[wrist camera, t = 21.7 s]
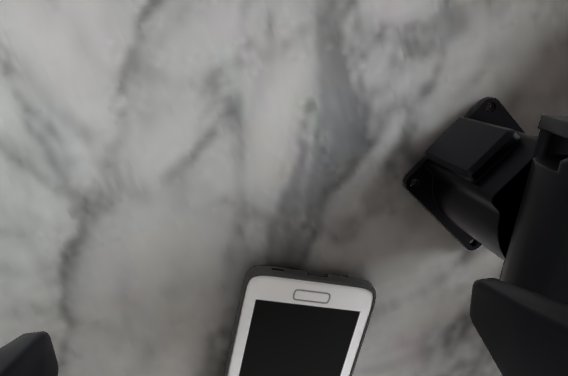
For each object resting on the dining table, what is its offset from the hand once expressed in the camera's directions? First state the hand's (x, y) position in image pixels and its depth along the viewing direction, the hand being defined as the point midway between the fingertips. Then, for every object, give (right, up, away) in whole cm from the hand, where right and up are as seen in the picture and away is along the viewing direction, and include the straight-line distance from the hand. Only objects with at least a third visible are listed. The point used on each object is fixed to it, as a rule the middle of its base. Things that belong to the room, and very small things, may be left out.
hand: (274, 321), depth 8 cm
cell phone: (0, -9, +17) cm, 19 cm away
